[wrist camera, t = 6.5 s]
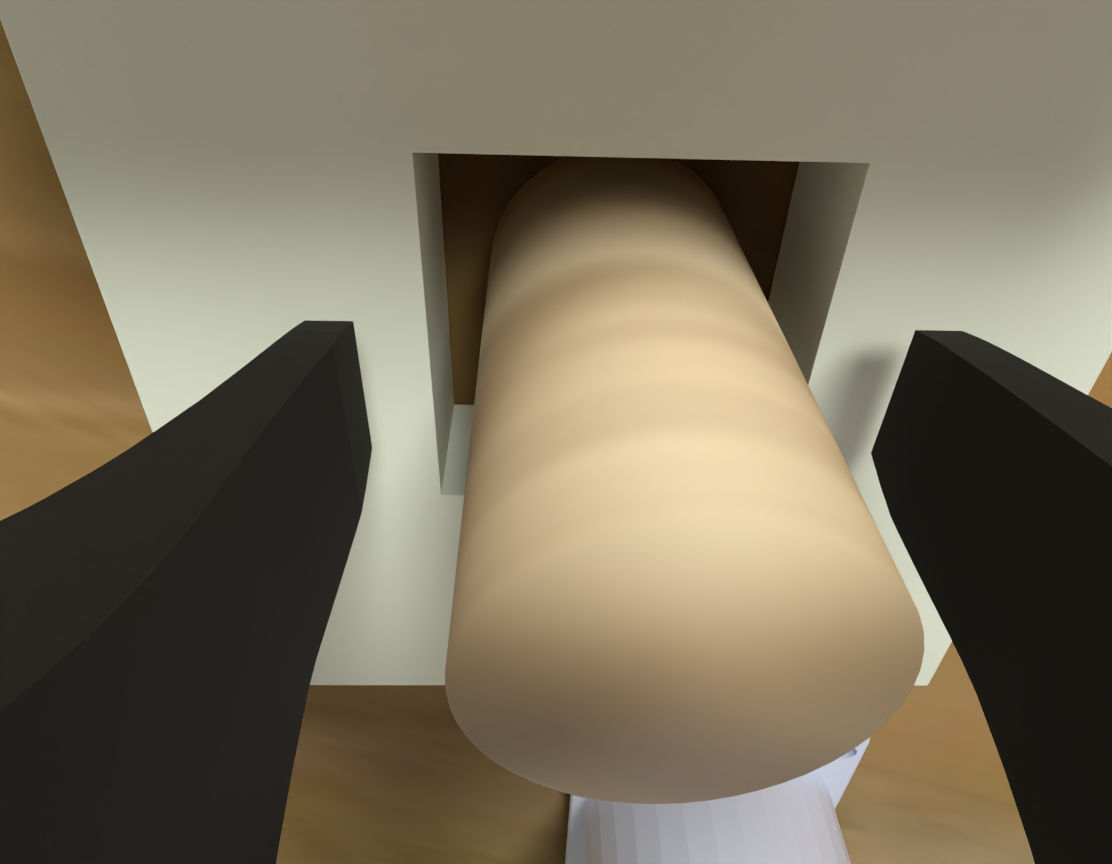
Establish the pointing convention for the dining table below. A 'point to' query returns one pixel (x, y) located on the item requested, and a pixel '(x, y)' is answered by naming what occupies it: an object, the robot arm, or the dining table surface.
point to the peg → (658, 513)
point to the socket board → (567, 130)
